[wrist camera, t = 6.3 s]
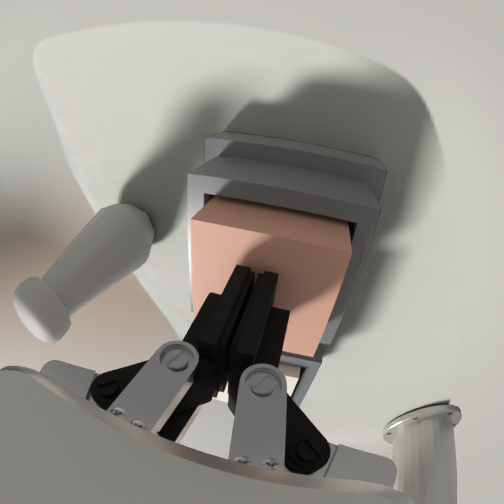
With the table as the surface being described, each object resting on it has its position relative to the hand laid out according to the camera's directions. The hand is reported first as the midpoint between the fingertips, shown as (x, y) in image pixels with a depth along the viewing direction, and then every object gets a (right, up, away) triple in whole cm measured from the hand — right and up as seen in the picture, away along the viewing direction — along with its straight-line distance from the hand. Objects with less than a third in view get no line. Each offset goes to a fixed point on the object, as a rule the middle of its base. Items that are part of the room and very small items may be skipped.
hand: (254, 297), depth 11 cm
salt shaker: (-10, +4, +12) cm, 16 cm away
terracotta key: (+1, +2, +3) cm, 4 cm away
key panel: (+2, 0, +10) cm, 11 cm away
